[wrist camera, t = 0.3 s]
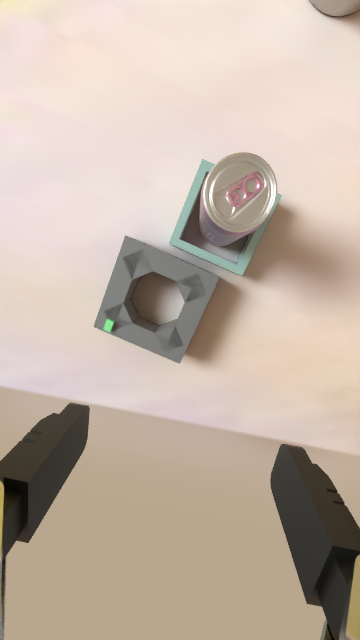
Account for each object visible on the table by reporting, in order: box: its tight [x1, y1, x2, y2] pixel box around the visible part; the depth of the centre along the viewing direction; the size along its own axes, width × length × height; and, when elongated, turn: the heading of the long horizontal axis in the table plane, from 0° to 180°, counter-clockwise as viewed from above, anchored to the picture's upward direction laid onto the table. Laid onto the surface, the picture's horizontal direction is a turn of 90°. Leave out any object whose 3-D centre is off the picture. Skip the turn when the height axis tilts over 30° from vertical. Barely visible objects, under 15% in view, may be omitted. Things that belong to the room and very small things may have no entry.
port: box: [94, 236, 220, 364], centre depth 34 cm, size 13×13×4 cm
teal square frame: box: [169, 159, 281, 276], centre depth 32 cm, size 10×10×3 cm
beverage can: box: [199, 152, 277, 246], centre depth 26 cm, size 6×6×15 cm
